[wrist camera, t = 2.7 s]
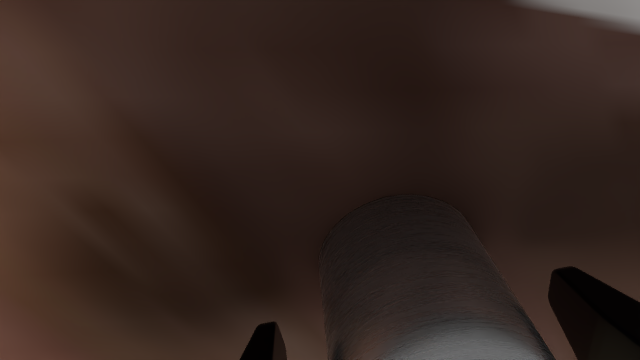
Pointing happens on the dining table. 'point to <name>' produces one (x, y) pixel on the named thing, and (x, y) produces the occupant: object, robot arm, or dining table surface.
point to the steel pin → (418, 288)
